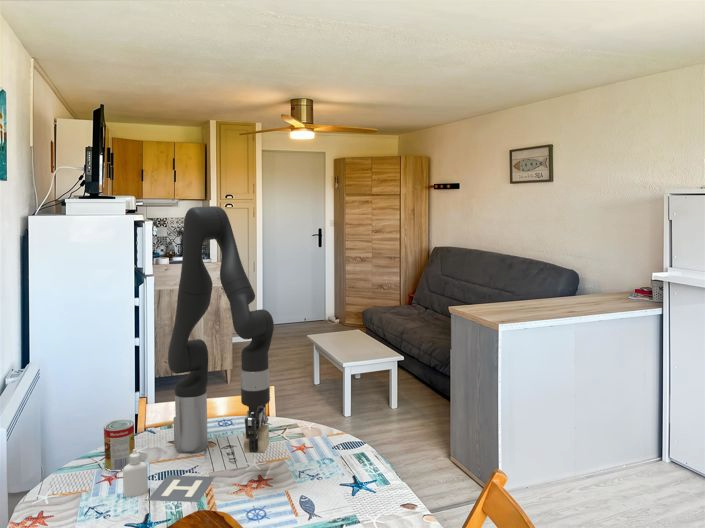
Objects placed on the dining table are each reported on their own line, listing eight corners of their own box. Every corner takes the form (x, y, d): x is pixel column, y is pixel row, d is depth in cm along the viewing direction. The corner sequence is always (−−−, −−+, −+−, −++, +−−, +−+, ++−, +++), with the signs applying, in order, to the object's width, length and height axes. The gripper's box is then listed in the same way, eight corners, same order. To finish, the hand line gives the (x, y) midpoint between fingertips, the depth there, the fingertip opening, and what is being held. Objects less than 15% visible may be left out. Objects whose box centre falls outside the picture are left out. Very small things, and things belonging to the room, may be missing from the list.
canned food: (131, 457, 160) (130, 417, 159) (138, 467, 153) (136, 426, 152) (102, 463, 155) (101, 423, 154) (108, 474, 149) (106, 432, 148)
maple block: (243, 452, 143) (243, 432, 143) (249, 444, 149) (248, 424, 148) (264, 453, 143) (264, 432, 142) (269, 444, 148) (268, 424, 148)
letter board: (147, 502, 134) (147, 500, 134) (167, 477, 147) (167, 475, 147) (198, 504, 134) (198, 501, 134) (215, 478, 147) (215, 476, 147)
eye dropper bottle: (127, 491, 140) (126, 446, 139) (150, 490, 140) (148, 445, 139) (121, 499, 136) (119, 453, 135) (144, 499, 136) (142, 453, 135)
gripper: (263, 394, 137) (264, 459, 138) (274, 377, 151) (275, 436, 153) (233, 393, 138) (235, 458, 139) (248, 377, 152) (249, 436, 153)
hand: (256, 446), depth 146 cm, fingers closed on maple block, 5 cm apart
